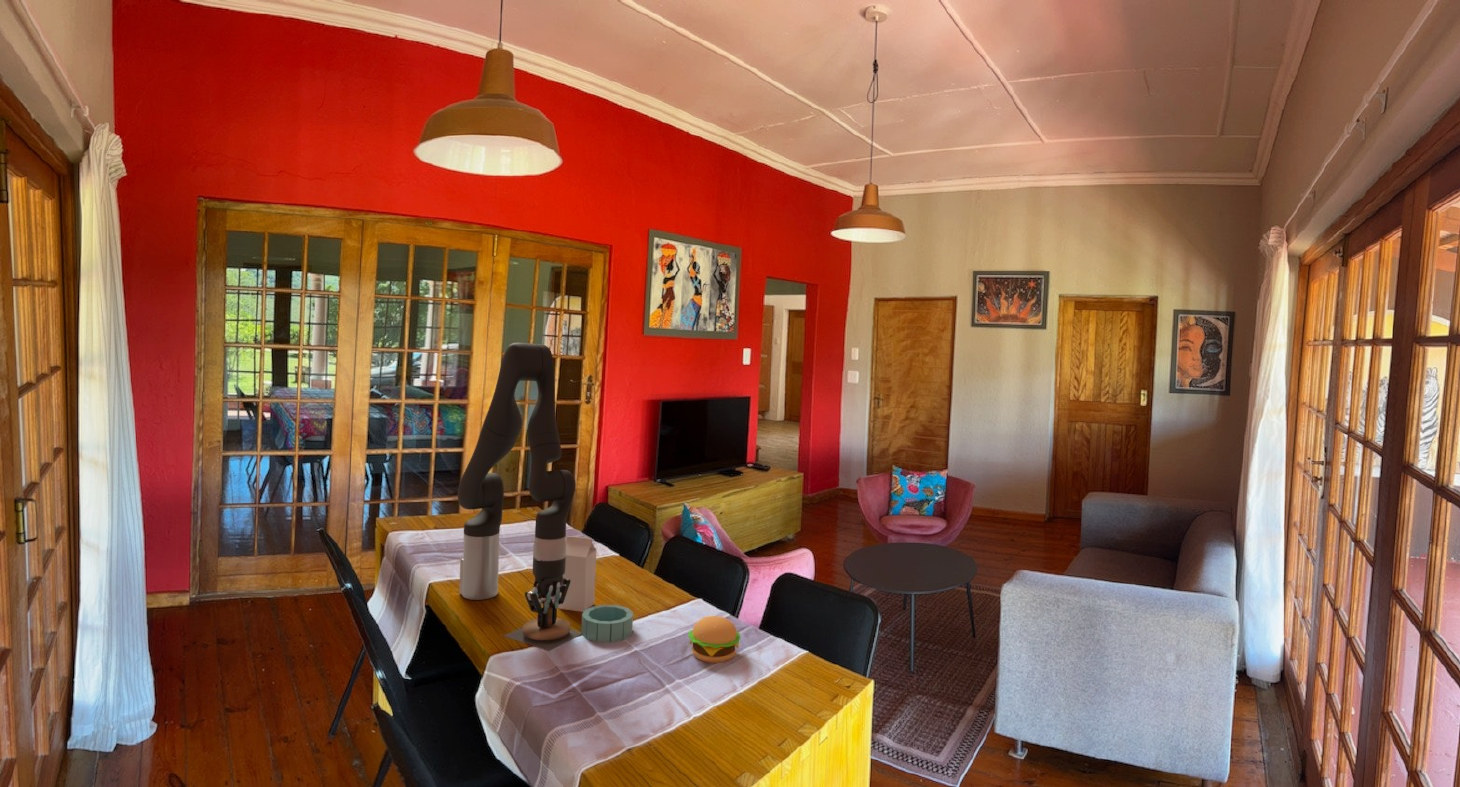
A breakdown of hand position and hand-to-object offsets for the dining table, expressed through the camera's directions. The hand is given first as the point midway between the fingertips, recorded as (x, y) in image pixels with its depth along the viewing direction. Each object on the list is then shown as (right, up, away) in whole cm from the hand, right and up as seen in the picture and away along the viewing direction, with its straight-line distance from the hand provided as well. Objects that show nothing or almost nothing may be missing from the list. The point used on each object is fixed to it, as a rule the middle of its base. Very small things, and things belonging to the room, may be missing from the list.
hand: (546, 625), depth 173 cm
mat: (-1, -3, +1) cm, 3 cm away
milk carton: (+3, -2, +20) cm, 20 cm away
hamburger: (+40, -6, -4) cm, 40 cm away
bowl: (+14, -3, +4) cm, 15 cm away
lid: (0, -1, 0) cm, 1 cm away
